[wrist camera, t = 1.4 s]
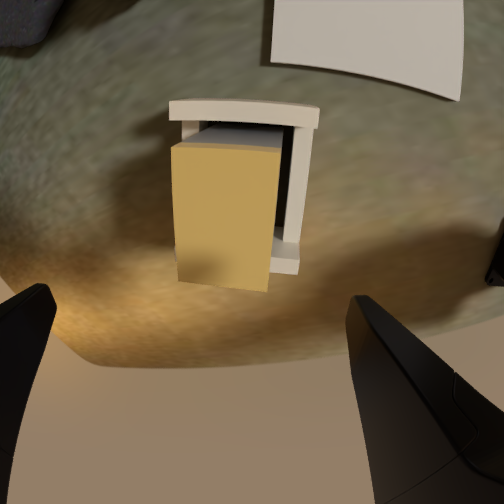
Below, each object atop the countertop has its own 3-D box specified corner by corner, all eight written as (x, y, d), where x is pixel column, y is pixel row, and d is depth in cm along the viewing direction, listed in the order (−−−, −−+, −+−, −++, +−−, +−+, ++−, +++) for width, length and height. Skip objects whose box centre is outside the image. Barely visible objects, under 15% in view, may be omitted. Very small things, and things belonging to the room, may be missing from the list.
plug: (283, 127, 17) (280, 153, 10) (275, 217, 20) (266, 292, 13) (217, 123, 17) (170, 147, 10) (215, 212, 20) (178, 281, 13)
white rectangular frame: (312, 105, 16) (319, 108, 13) (296, 241, 21) (297, 274, 17) (192, 98, 17) (169, 101, 13) (193, 231, 21) (175, 261, 18)
